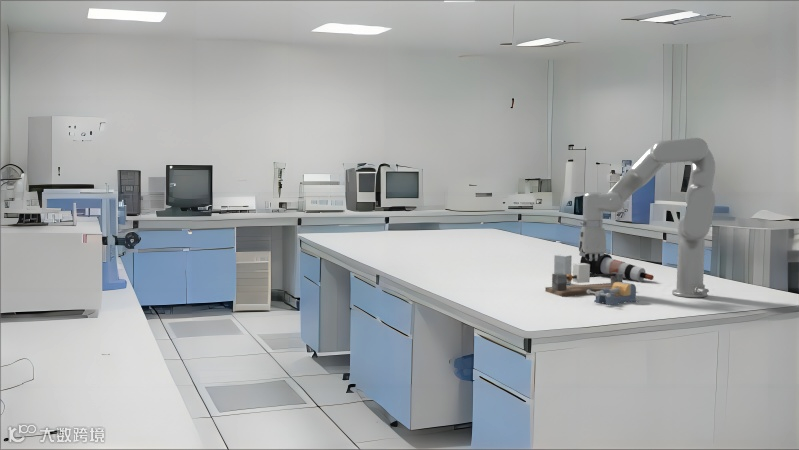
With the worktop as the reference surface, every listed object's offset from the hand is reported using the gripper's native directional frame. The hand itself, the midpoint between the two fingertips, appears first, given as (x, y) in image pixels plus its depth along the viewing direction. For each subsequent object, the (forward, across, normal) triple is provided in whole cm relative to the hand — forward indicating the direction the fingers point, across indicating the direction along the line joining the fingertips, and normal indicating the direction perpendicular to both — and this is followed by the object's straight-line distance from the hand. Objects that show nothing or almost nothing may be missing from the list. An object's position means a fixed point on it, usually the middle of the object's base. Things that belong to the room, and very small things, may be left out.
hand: (591, 270), depth 305 cm
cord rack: (+8, -2, 0) cm, 8 cm away
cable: (+9, +30, +24) cm, 39 cm away
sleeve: (+4, -5, 0) cm, 6 cm away
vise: (+9, -5, -22) cm, 24 cm away
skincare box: (+8, -1, +19) cm, 21 cm away
